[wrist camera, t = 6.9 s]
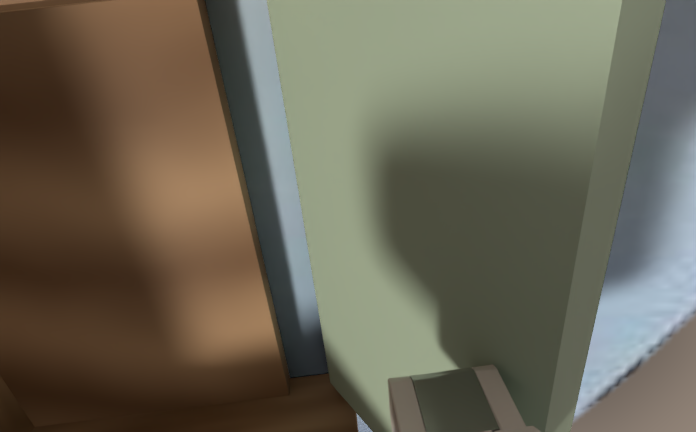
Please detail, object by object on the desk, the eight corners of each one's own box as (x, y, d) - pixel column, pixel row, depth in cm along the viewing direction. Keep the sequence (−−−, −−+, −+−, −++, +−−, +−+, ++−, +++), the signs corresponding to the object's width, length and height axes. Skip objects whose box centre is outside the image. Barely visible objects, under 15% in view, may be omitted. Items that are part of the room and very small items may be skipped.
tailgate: (266, -1, 13) (626, -25, 5) (302, -5, 13) (673, -33, 6) (330, 382, 20) (515, 595, 13) (351, 369, 21) (540, 566, 13)
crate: (-260, -6, 13) (-1595, 20, 4) (294, -66, 13) (251, -174, 4) (32, 427, 22) (-162, 732, 13) (354, 387, 22) (380, 660, 13)
